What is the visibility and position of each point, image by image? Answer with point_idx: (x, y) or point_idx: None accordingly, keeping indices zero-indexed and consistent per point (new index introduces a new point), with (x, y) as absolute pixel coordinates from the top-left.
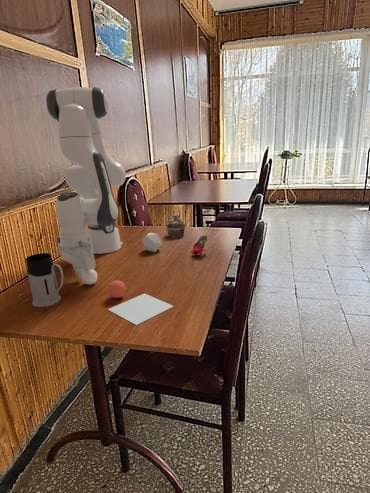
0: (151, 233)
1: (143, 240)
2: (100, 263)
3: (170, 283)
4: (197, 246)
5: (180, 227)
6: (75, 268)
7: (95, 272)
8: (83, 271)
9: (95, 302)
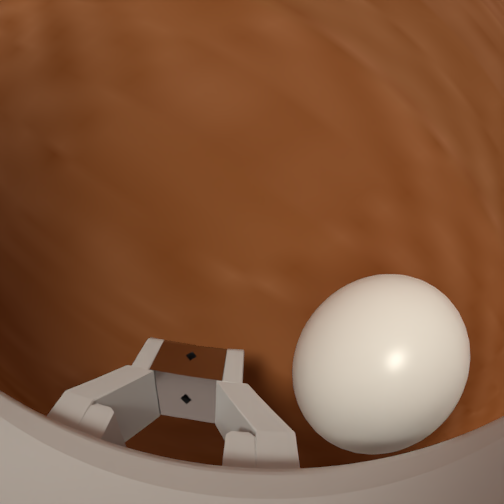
0: None
1: None
2: (35, 15)
3: None
4: None
5: None
6: (132, 430)
7: (467, 339)
8: (362, 453)
9: (496, 390)
